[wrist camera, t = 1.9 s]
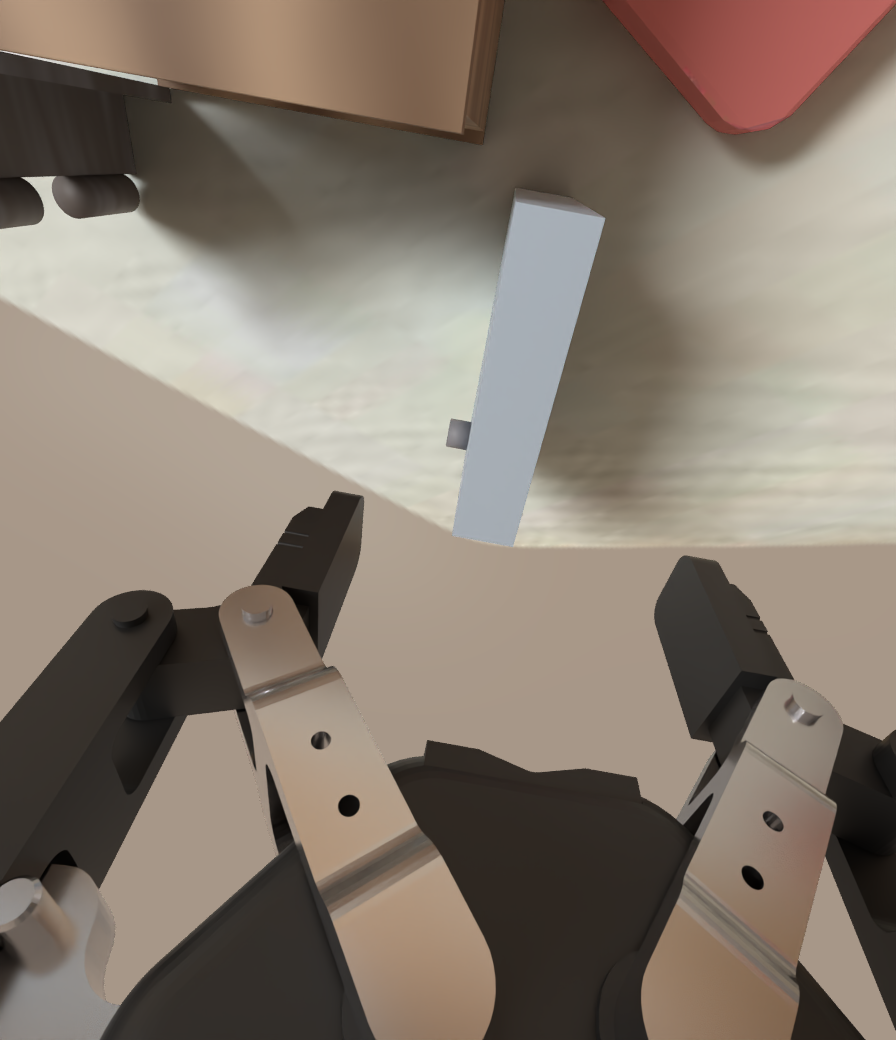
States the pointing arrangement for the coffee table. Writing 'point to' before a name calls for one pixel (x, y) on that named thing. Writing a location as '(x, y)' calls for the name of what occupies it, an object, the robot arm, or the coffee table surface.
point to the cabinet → (223, 78)
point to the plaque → (748, 51)
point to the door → (522, 359)
